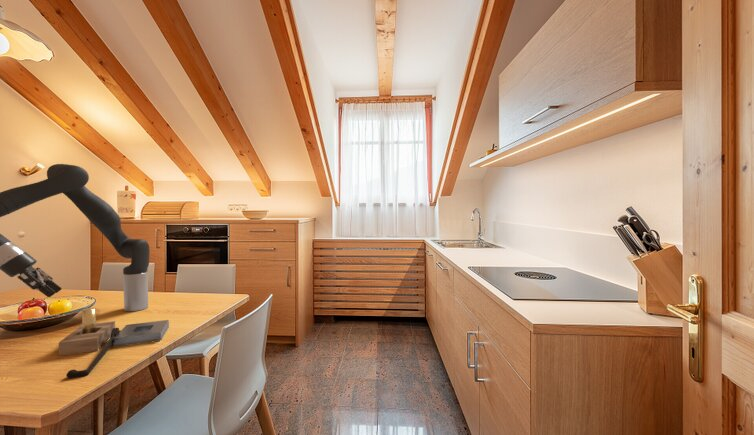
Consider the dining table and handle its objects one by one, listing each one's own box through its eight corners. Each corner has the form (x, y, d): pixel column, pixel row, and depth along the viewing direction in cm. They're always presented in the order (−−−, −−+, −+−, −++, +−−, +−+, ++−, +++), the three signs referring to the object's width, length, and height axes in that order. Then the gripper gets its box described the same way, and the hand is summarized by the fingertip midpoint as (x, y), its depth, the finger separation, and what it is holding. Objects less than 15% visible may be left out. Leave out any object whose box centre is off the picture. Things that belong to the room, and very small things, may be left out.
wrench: (64, 386, 92) (105, 338, 119) (87, 383, 94) (122, 337, 121) (64, 369, 91) (105, 324, 119) (87, 366, 93) (122, 323, 121)
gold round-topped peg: (85, 335, 116) (84, 308, 116) (97, 334, 118) (97, 307, 117) (80, 339, 113) (79, 311, 113) (93, 338, 114) (92, 310, 114)
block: (126, 332, 125) (126, 324, 125) (168, 327, 131) (168, 319, 131) (113, 347, 113) (113, 338, 112) (161, 340, 118) (160, 332, 118)
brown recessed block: (82, 336, 121) (82, 324, 121) (115, 332, 125) (115, 321, 125) (59, 356, 106) (58, 342, 106) (97, 350, 110) (97, 337, 109)
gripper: (16, 252, 101) (62, 288, 106) (31, 250, 112) (71, 282, 118) (-12, 269, 97) (37, 305, 103) (6, 265, 109) (49, 297, 115)
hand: (55, 293), depth 111 cm, fingers open, 8 cm apart
